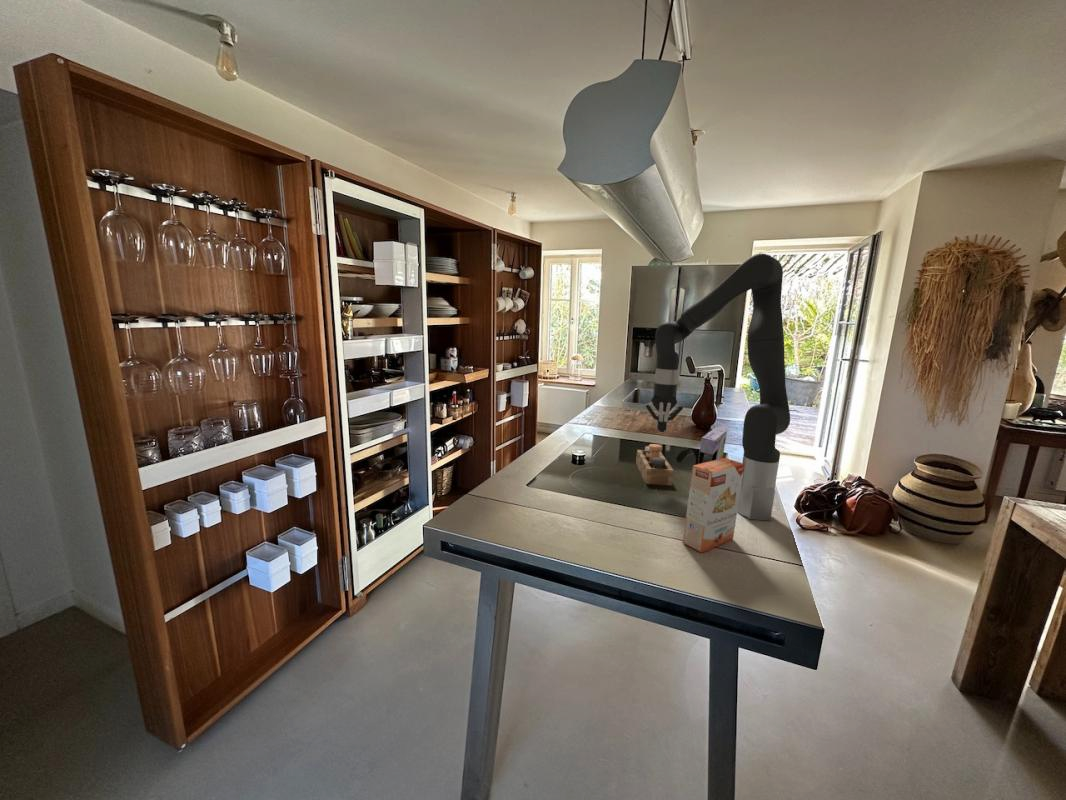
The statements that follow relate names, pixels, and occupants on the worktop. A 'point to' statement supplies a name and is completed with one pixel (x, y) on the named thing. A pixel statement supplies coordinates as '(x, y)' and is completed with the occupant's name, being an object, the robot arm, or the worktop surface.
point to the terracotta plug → (654, 451)
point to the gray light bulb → (658, 462)
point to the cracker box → (713, 503)
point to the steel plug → (647, 451)
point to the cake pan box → (712, 446)
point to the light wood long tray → (654, 470)
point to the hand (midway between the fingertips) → (661, 431)
